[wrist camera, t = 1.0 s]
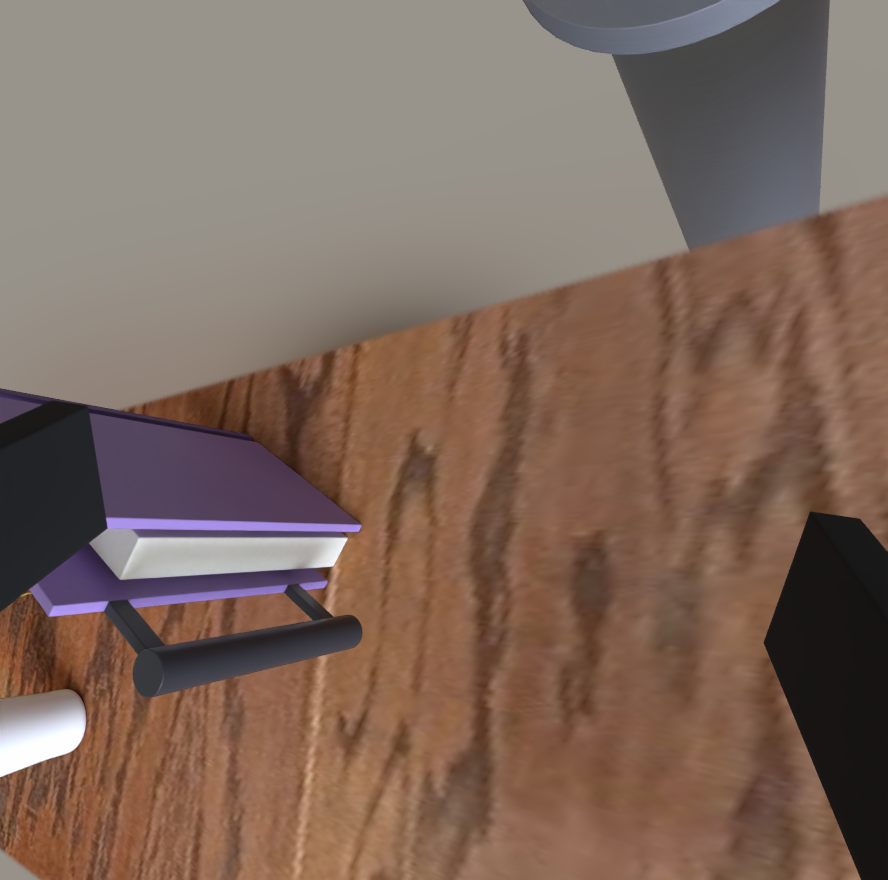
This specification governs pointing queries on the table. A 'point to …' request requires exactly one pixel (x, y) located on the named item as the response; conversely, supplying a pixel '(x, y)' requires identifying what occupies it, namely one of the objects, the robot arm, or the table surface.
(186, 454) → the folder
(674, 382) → the table surface
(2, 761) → the drinking glass
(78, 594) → the folder cover
